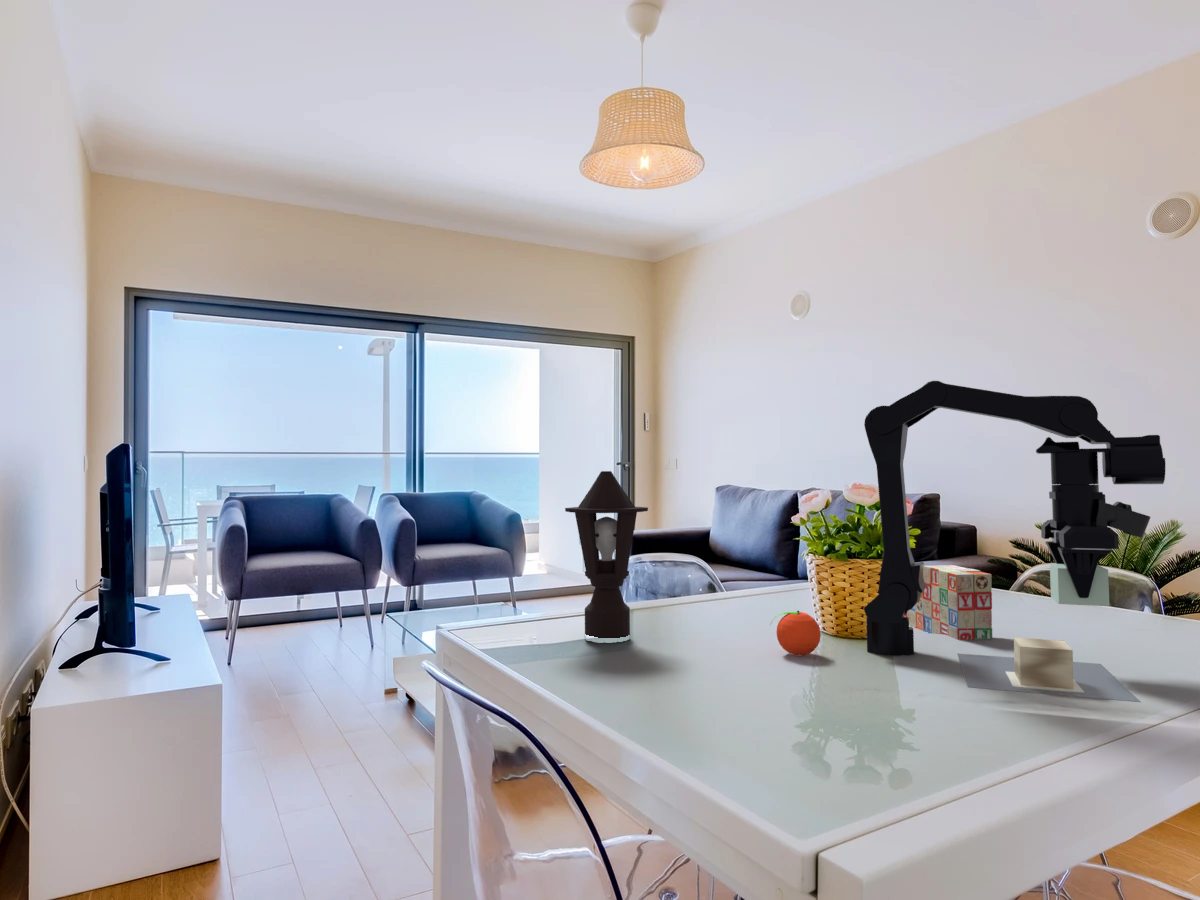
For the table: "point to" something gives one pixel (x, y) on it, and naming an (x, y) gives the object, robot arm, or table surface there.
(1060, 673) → the maple block
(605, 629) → the lantern
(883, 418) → the robot arm
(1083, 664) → the plate
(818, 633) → the clementine
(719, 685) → the table surface
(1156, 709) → the table surface
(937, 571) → the stack of blocks
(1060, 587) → the sage block
